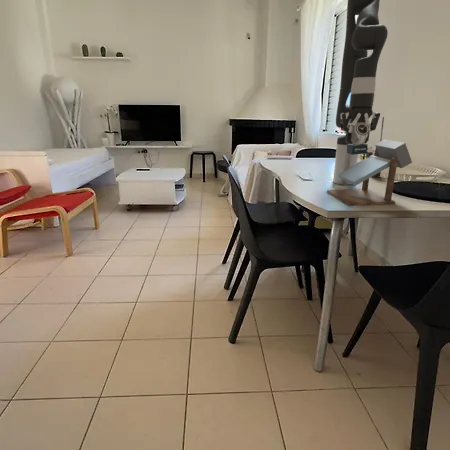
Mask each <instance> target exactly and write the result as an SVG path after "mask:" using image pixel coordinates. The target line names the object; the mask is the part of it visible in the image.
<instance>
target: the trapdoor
mask: <svg viewBox="0 0 450 450" xmlns="http://www.w3.org/2000/svg"><path fill="white" fill-rule="evenodd" d="M374 146H375V149H376V148H377V151H378V154H379V156H380V157H377V156H374V154H373V155H370V156H369V157H368V158H366V157H365V158H364V159H362V160H361V161H359V162H357V164H355V165H354V166H352V167H350V168H348V169H347V170H345V171H343V172H341V173H340V174H338V176H339V178H341V179H343V180H345V181H347V182H349V183H351V184H350V185H353V186H355V187H356V186H357V185H358V186H359V185H360V184H362V183H363V181H365V180H367V179H368V178H369V179H371V178H372V177H373V176H374V175H376V174H377V173H379V172H381V173H382V172H383V171H385V170H386V169H389V166H390V160H391V158H398V162H397V168H399V169H403V168H405V167H407V166H408V165H410V164H412V163H413V161H412V158H411V156H410V153H409V149H408V146H407V145H406V142H403V141H395V140H390V139H383V140H381V142H380V141H379V142H378V143H376V144H374Z"/></svg>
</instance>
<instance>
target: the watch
mask: <svg viewBox="0 0 450 450" xmlns="http://www.w3.org/2000/svg"><path fill="white" fill-rule="evenodd" d="M369 126H370V125H369ZM369 126H368V125H367V124H366V123H364V122H361V123H356V125H355V127H354V128H353V130H352V132H351V133H352V138H351V141H352V142H353V144H347V153H348V154H351V155H355V154H358V155H361V154H362V155H365V154H367V152H368V147H369V145H368V144H367V143H364V142H365V140H366V138H367V136H368V133H369V130H370V128H369ZM369 134H370V133H369ZM358 139H359V141H358Z"/></svg>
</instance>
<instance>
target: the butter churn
mask: <svg viewBox="0 0 450 450" xmlns="http://www.w3.org/2000/svg"><path fill="white" fill-rule="evenodd" d="M384 119H385V116H382V120H381V131H380V140H379V142H381V141H383V140H382V139H383V137H382V136H383V129H384V121H385V120H384ZM373 156H377V157H380V156H379V154H378V151H377V148H376V147H375V150H374V152H373ZM381 173H382V171H381V172H379V173H377V174H376V175H374V176H372V177H373V178H378V177H381Z"/></svg>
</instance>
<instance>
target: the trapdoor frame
mask: <svg viewBox="0 0 450 450" xmlns="http://www.w3.org/2000/svg"><path fill="white" fill-rule="evenodd" d="M370 155H373V156H374V152H373V151H367V153H366V155H365V159H366V158H368V157H369V156H370ZM397 162H398V158H391V160H390V166H389V167H388V175H387V180H386V187H385V193H384V195H382V194H380V193H378V192H375V191H373V190H372V189H369V182H370V178H368V179H367V180H365V181H363V182H362V183H361V185H362V186H361V188H349V189H348V188H347V189H346V188H345V189H343V188H342V189H341V188H340V189H327V190H326V193H327V194H329V195H330V196H332V197H334V198H335V199H337V200H339V201H340V202H342V203H343V204H345V205H346V206H348V207H357V206H358V207H360V206H381V205H382V206H384V205H385V206H386V205H396V201H395V200H393V199H392V196H393V191H394V184H395V179H396V172H397V168H398V167H397Z"/></svg>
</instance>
